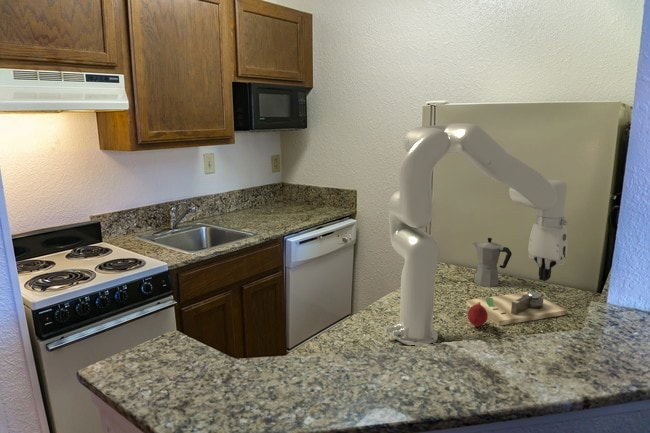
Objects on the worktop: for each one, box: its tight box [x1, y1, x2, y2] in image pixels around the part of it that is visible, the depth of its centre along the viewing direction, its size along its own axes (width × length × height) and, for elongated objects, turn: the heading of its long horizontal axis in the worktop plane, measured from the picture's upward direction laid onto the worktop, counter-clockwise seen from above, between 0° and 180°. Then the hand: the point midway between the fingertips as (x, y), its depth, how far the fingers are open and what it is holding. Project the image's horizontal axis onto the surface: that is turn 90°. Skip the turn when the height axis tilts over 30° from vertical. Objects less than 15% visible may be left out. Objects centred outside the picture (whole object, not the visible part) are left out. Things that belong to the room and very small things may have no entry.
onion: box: [467, 302, 488, 328], centre depth 141 cm, size 6×6×8 cm
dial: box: [511, 290, 545, 315], centre depth 151 cm, size 15×6×4 cm, turn 128°
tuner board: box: [466, 291, 568, 326], centre depth 155 cm, size 26×17×2 cm, turn 108°
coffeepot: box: [472, 237, 513, 288], centre depth 176 cm, size 15×9×18 cm, turn 43°
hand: (544, 279), depth 142 cm, fingers closed
